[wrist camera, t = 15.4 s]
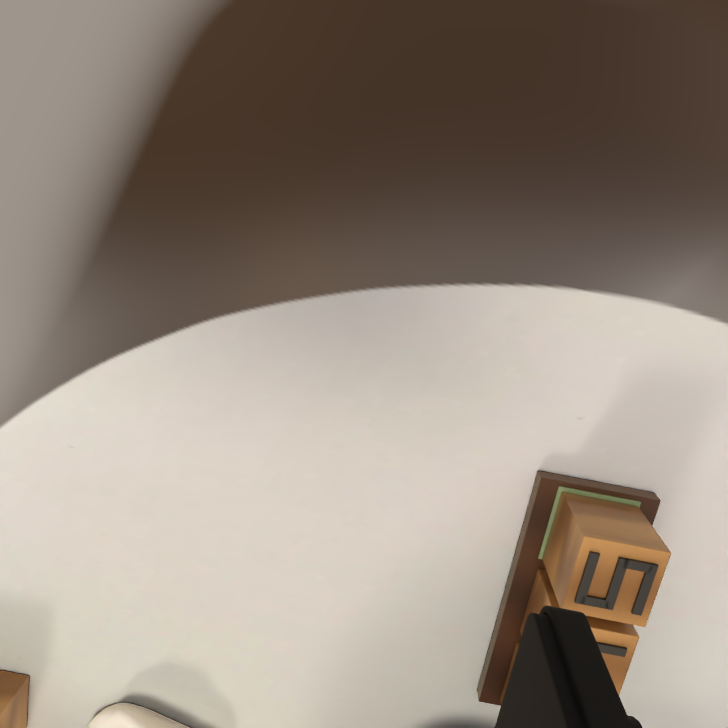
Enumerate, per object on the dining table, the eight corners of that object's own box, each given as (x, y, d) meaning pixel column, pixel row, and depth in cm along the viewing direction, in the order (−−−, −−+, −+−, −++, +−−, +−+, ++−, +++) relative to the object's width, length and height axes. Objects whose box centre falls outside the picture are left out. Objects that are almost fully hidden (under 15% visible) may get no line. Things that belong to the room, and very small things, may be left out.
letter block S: (561, 491, 39) (584, 538, 34) (638, 505, 38) (673, 554, 33) (541, 558, 40) (561, 613, 35) (616, 573, 40) (646, 630, 35)
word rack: (537, 470, 39) (561, 522, 33) (654, 492, 39) (699, 548, 33) (476, 690, 44) (488, 770, 38) (582, 710, 44) (610, 794, 38)
